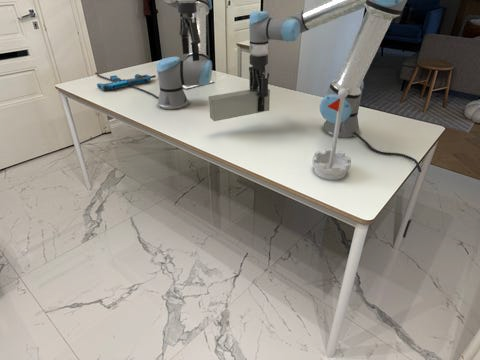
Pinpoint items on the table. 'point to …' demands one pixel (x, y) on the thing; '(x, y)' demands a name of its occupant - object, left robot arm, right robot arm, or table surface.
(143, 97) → the table surface
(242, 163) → the table surface
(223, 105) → the bar
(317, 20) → the right robot arm
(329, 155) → the flag stand
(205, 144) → the table surface
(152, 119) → the table surface
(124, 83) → the submachine gun
